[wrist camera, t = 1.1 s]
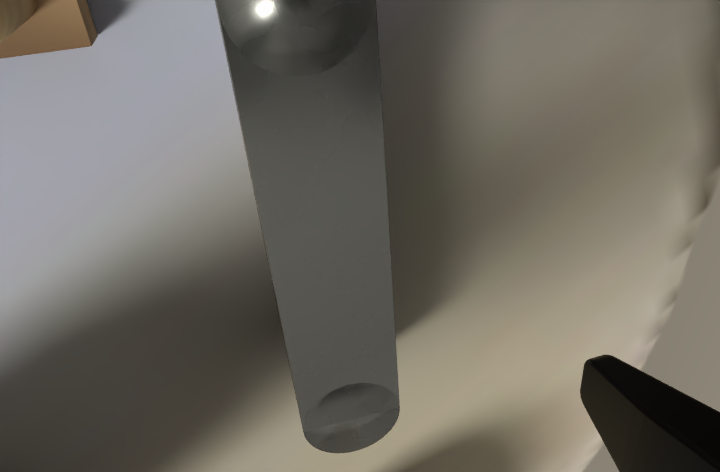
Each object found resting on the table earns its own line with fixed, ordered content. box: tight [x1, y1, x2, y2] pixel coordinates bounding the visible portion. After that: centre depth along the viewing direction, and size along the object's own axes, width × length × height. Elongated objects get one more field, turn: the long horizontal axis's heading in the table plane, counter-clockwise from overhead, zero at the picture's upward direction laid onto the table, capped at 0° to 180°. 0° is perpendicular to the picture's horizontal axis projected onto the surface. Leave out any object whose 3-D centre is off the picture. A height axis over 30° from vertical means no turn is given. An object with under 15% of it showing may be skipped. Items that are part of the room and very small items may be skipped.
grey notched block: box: [215, 0, 400, 453], centre depth 18 cm, size 18×4×4 cm, turn 5°
